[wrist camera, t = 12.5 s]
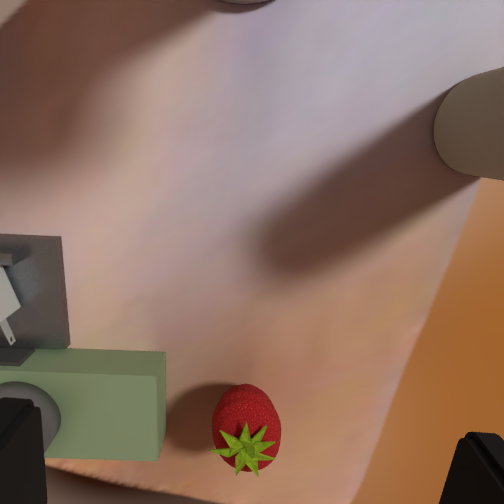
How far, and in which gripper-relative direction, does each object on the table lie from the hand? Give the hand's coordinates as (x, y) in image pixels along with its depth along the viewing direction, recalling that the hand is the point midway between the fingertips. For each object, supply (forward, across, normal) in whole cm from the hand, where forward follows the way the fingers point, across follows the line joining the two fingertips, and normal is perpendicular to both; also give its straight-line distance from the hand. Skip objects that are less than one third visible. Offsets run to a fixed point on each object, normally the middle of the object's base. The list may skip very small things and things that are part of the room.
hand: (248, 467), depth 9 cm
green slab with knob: (+26, +18, +19) cm, 37 cm away
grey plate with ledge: (+26, +22, +10) cm, 36 cm away
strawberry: (+26, -2, +18) cm, 32 cm away
